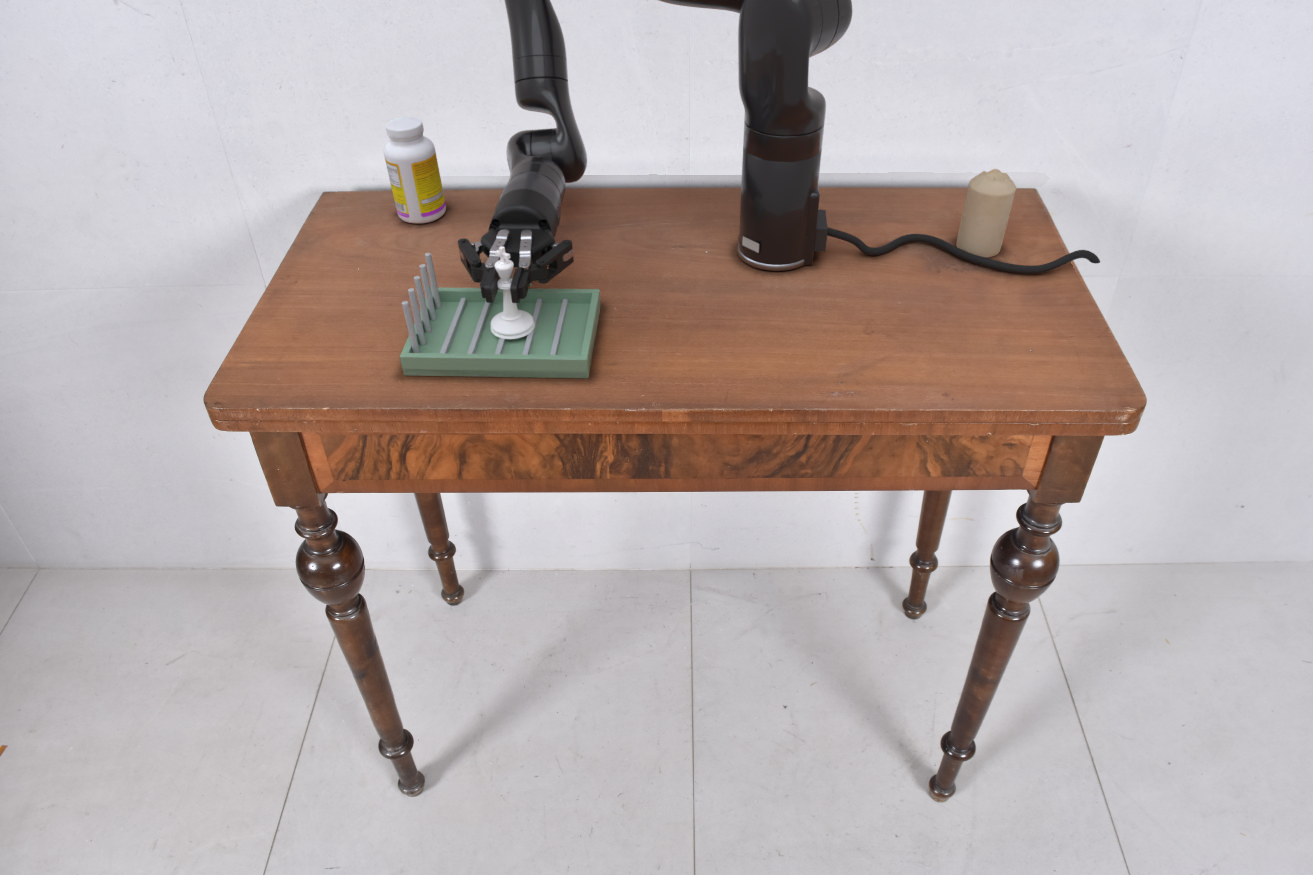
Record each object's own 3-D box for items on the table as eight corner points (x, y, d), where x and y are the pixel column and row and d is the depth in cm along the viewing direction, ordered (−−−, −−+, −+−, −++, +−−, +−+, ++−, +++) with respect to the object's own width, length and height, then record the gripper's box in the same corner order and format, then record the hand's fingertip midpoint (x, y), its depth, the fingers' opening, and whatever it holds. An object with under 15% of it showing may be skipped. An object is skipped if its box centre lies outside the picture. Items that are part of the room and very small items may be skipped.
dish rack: (601, 307, 109) (597, 246, 104) (588, 378, 99) (583, 315, 93) (433, 305, 110) (421, 245, 105) (403, 375, 100) (388, 312, 94)
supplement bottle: (452, 204, 130) (436, 114, 122) (439, 226, 125) (421, 134, 117) (406, 202, 131) (387, 113, 122) (391, 225, 126) (370, 133, 117)
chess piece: (516, 344, 101) (505, 264, 94) (481, 331, 103) (468, 251, 96) (543, 322, 104) (534, 243, 97) (509, 310, 106) (498, 231, 99)
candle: (952, 254, 117) (968, 179, 111) (959, 234, 121) (974, 161, 115) (997, 261, 116) (1016, 186, 109) (1002, 241, 119) (1021, 167, 113)
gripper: (464, 186, 108) (430, 264, 95) (582, 188, 107) (564, 265, 94) (474, 244, 113) (442, 324, 100) (587, 245, 112) (569, 326, 99)
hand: (501, 295), depth 97 cm, fingers closed on chess piece
